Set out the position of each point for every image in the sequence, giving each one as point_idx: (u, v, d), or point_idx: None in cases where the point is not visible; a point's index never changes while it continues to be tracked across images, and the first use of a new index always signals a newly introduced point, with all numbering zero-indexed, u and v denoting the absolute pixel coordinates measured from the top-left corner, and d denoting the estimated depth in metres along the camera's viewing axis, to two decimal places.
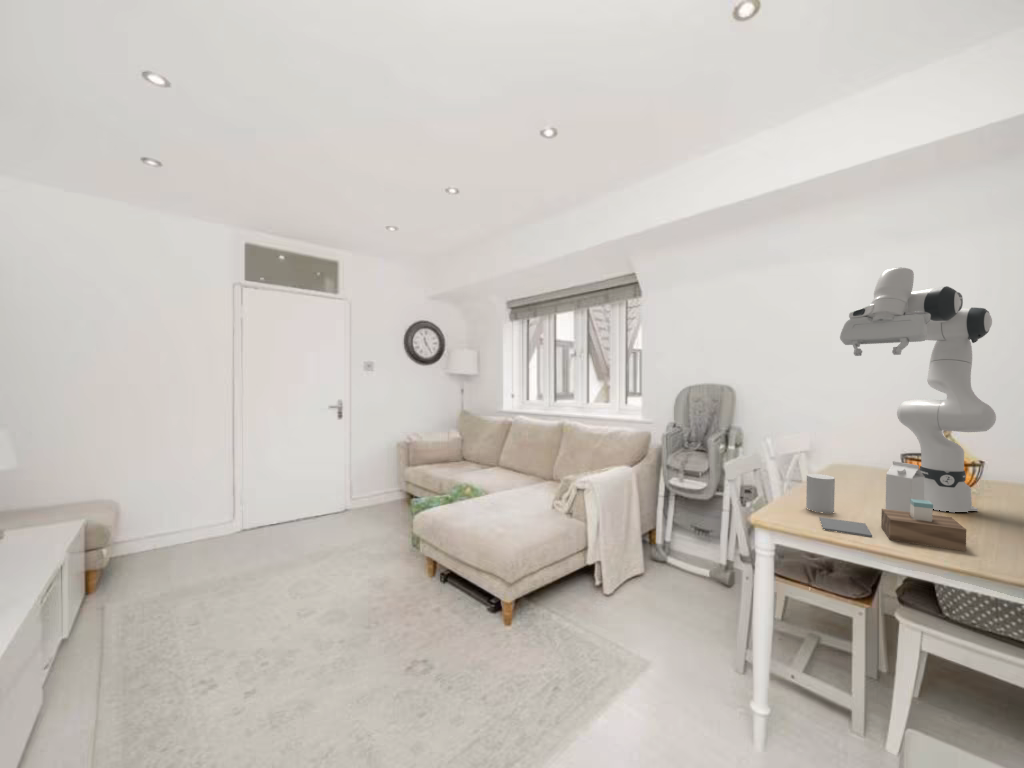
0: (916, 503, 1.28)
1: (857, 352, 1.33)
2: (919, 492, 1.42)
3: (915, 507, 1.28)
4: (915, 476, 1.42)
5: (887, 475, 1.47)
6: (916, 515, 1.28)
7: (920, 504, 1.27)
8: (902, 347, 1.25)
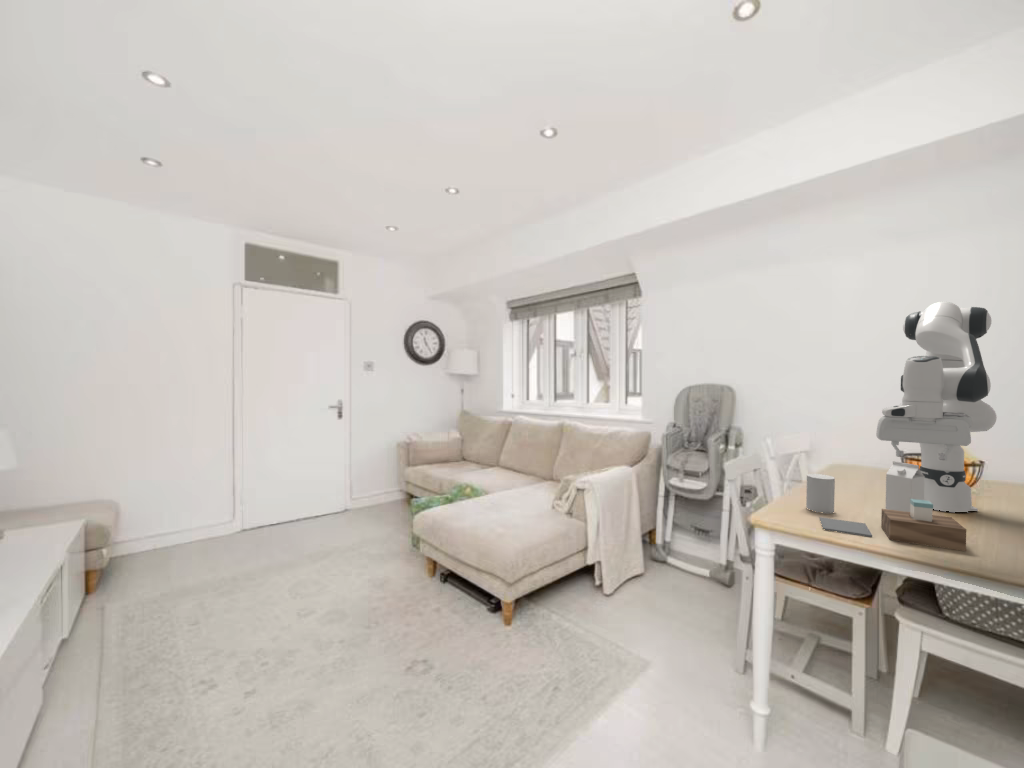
0: (916, 503, 1.28)
1: (901, 455, 1.30)
2: (919, 492, 1.42)
3: (915, 507, 1.28)
4: (915, 476, 1.42)
5: (887, 475, 1.47)
6: (916, 515, 1.28)
7: (920, 504, 1.27)
8: None
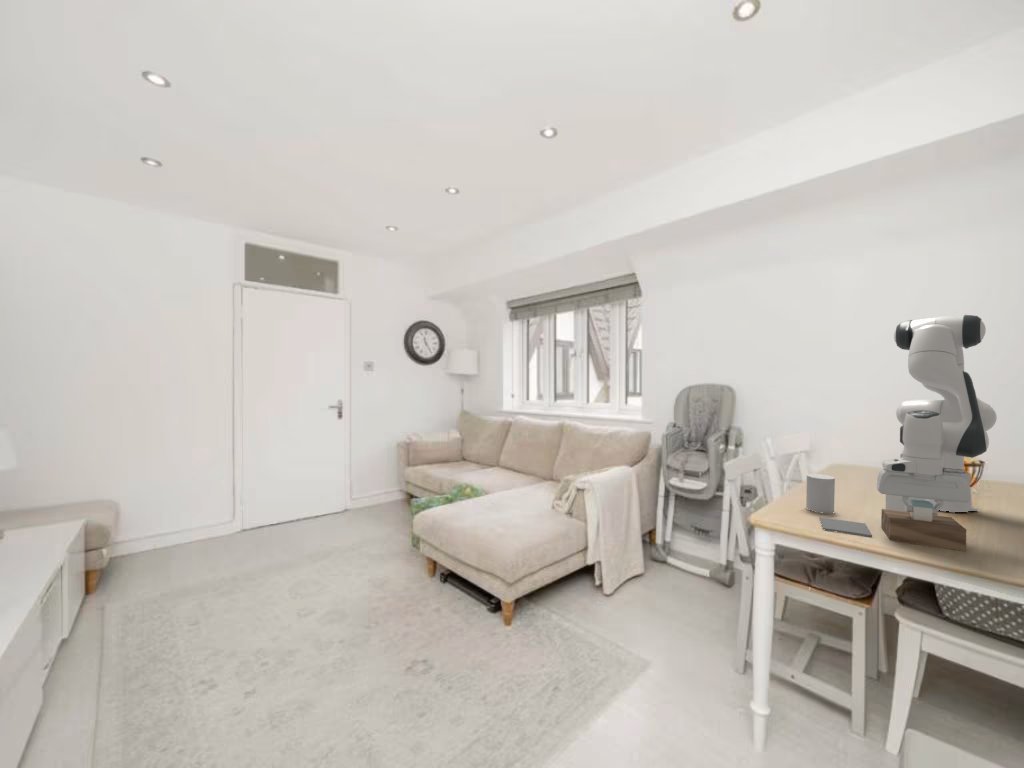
0: (916, 503, 1.28)
1: (910, 510, 1.30)
2: None
3: (915, 507, 1.28)
4: None
5: None
6: (916, 515, 1.28)
7: (920, 504, 1.27)
8: None
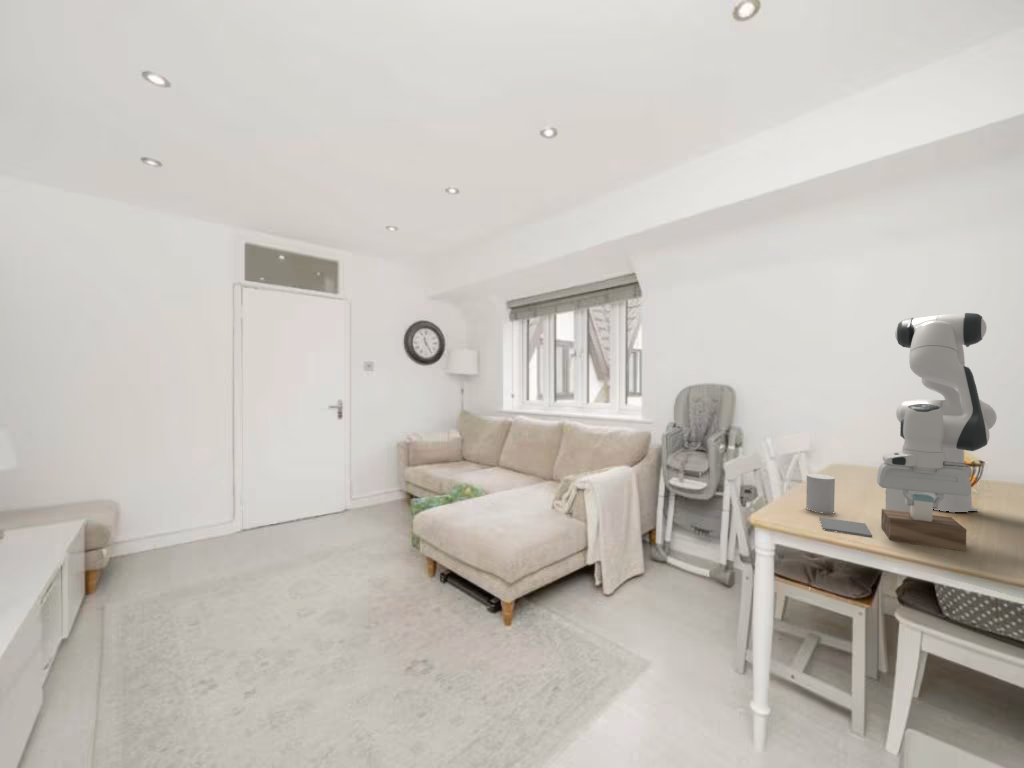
0: (917, 497, 1.28)
1: (911, 504, 1.29)
2: (919, 492, 1.42)
3: (915, 501, 1.28)
4: None
5: None
6: (916, 509, 1.28)
7: (921, 498, 1.27)
8: None
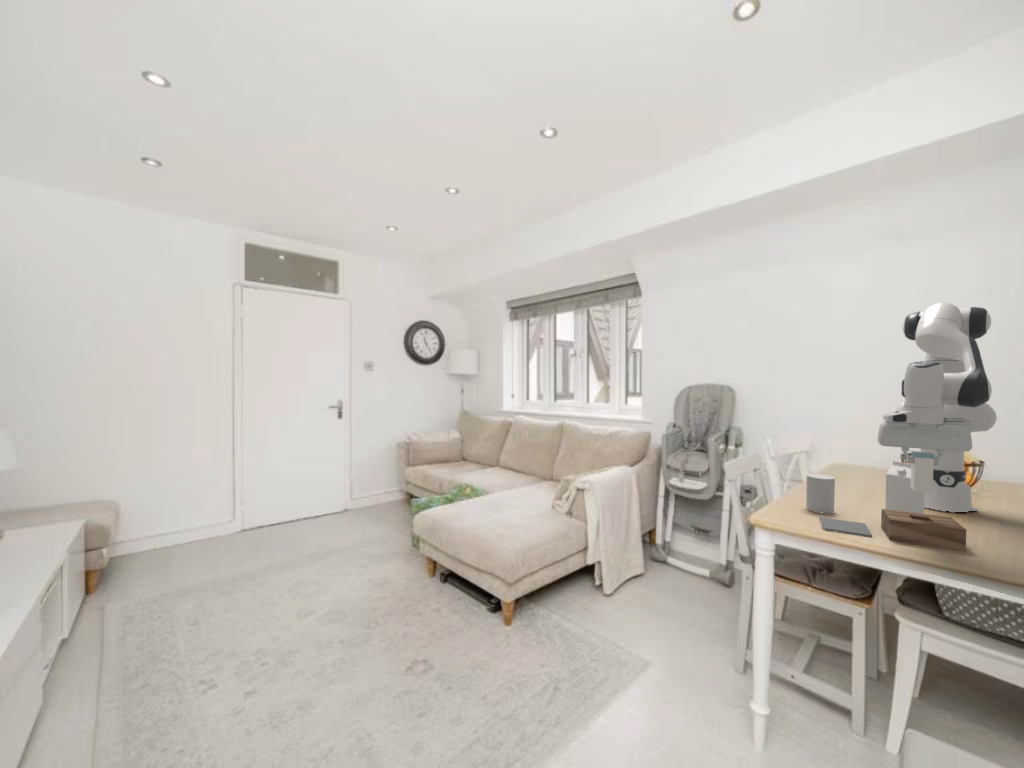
0: (917, 454, 1.28)
1: (911, 462, 1.29)
2: (919, 492, 1.42)
3: (916, 458, 1.28)
4: None
5: (887, 475, 1.47)
6: (917, 466, 1.28)
7: (921, 455, 1.27)
8: None
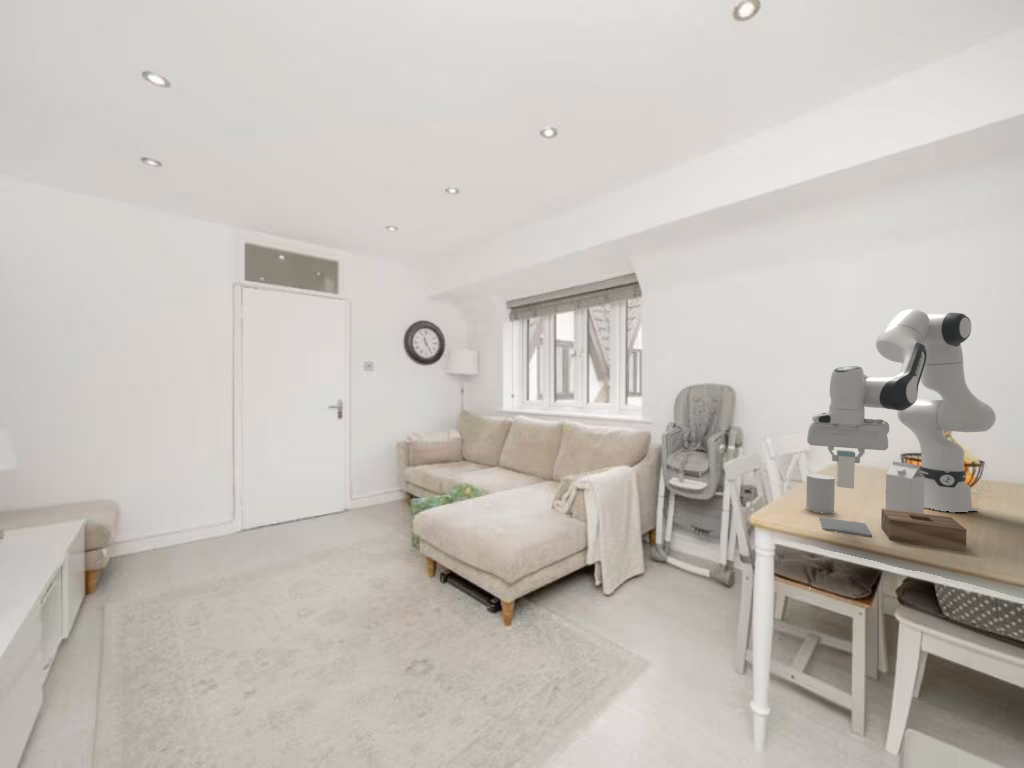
0: (840, 452, 1.37)
1: (836, 460, 1.38)
2: (919, 492, 1.42)
3: (839, 456, 1.37)
4: (915, 476, 1.42)
5: (887, 475, 1.47)
6: (840, 464, 1.37)
7: (844, 453, 1.36)
8: None
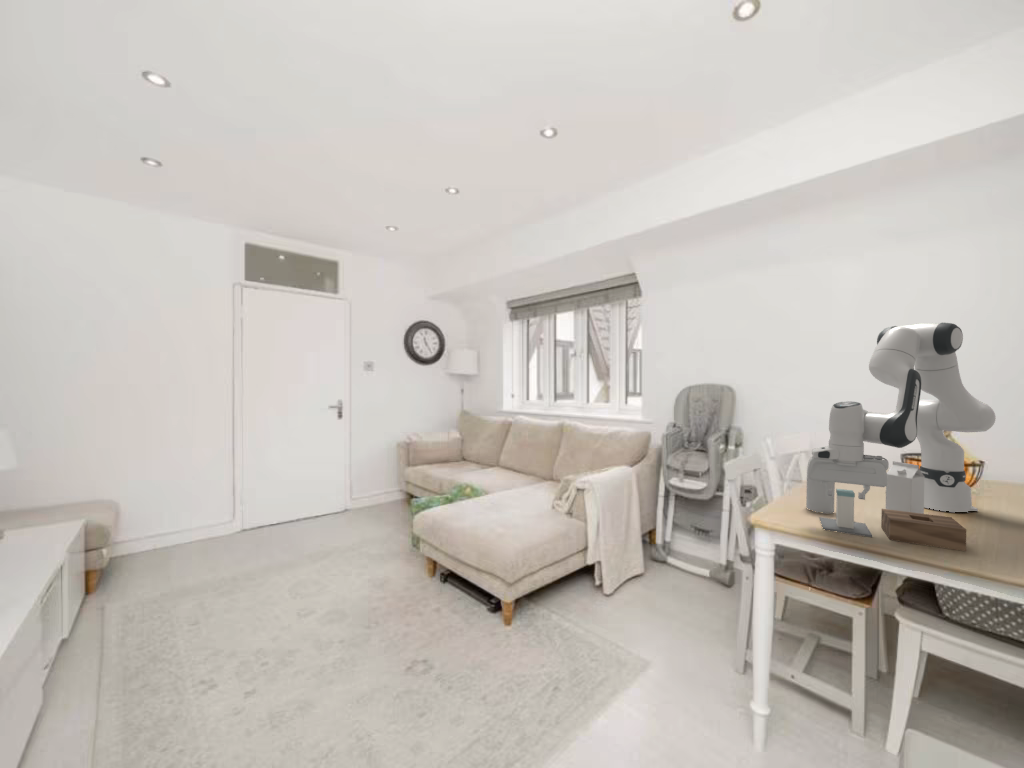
0: (840, 492, 1.37)
1: (830, 494, 1.40)
2: (919, 492, 1.42)
3: (839, 496, 1.37)
4: (915, 476, 1.42)
5: (887, 475, 1.47)
6: (840, 504, 1.37)
7: (843, 493, 1.37)
8: None
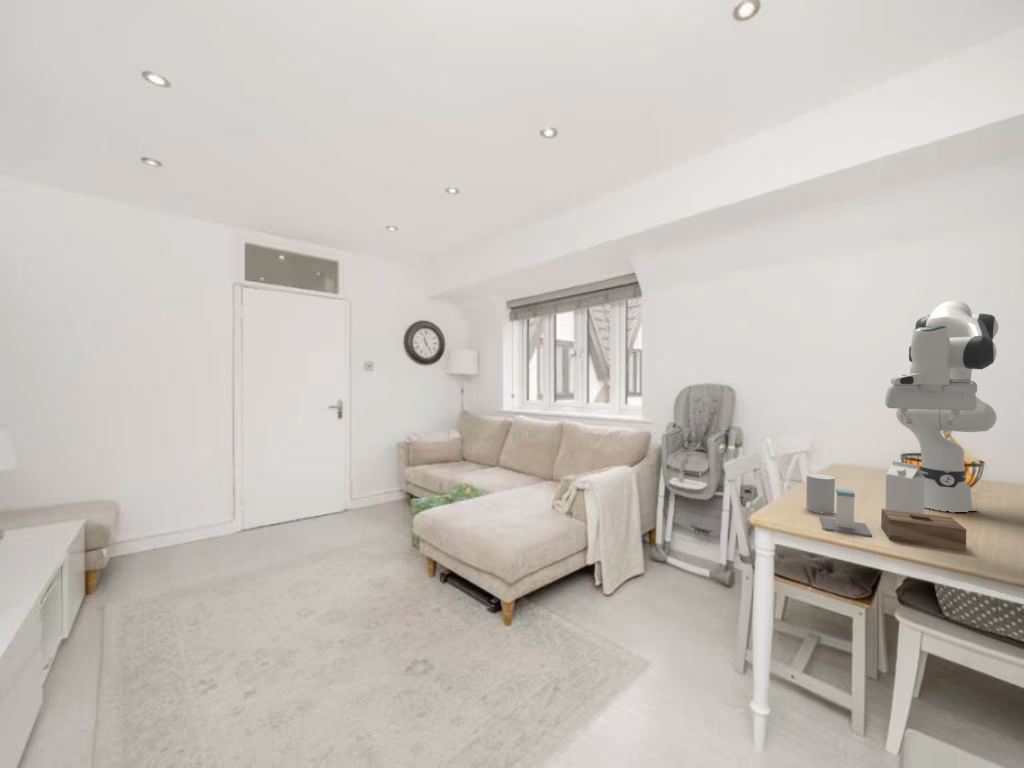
0: (840, 492, 1.37)
1: (909, 422, 1.35)
2: (919, 492, 1.42)
3: (839, 496, 1.37)
4: (915, 476, 1.42)
5: (887, 475, 1.47)
6: (840, 504, 1.37)
7: (843, 493, 1.37)
8: None
